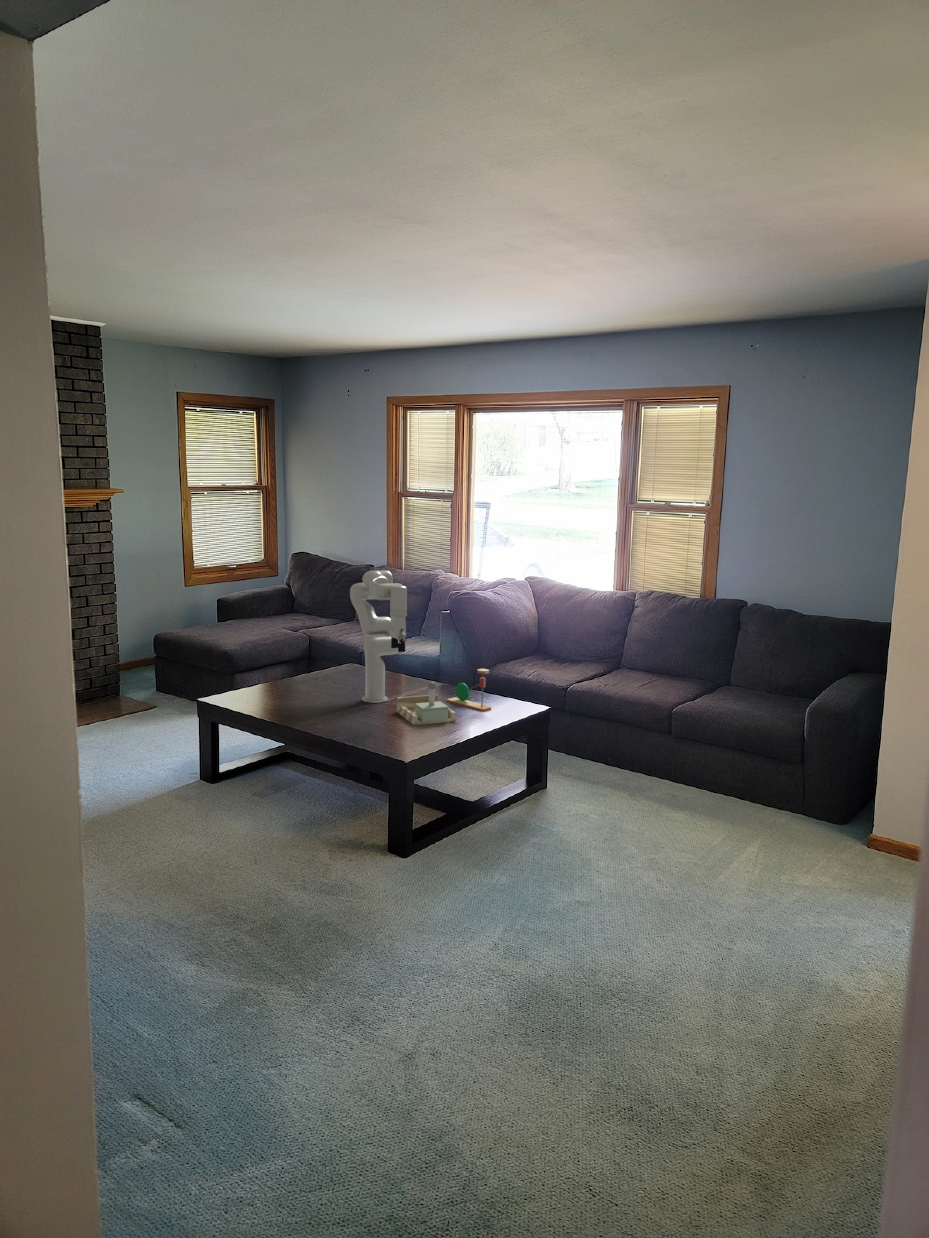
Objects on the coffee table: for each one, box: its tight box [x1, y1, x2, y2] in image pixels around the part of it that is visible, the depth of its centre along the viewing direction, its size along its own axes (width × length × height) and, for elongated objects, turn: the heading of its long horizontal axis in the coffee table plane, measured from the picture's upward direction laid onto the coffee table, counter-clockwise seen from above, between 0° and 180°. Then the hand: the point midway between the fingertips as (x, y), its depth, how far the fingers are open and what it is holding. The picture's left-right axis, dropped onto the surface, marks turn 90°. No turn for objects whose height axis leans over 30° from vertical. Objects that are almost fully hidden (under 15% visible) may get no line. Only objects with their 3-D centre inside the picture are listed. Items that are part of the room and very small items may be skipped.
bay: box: [396, 693, 457, 726], centre depth 403 cm, size 23×20×7 cm
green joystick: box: [415, 681, 449, 722], centre depth 396 cm, size 10×12×17 cm
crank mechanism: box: [446, 668, 492, 713], centre depth 423 cm, size 25×7×19 cm, turn 45°
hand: (398, 649), depth 402 cm, fingers open, 9 cm apart
